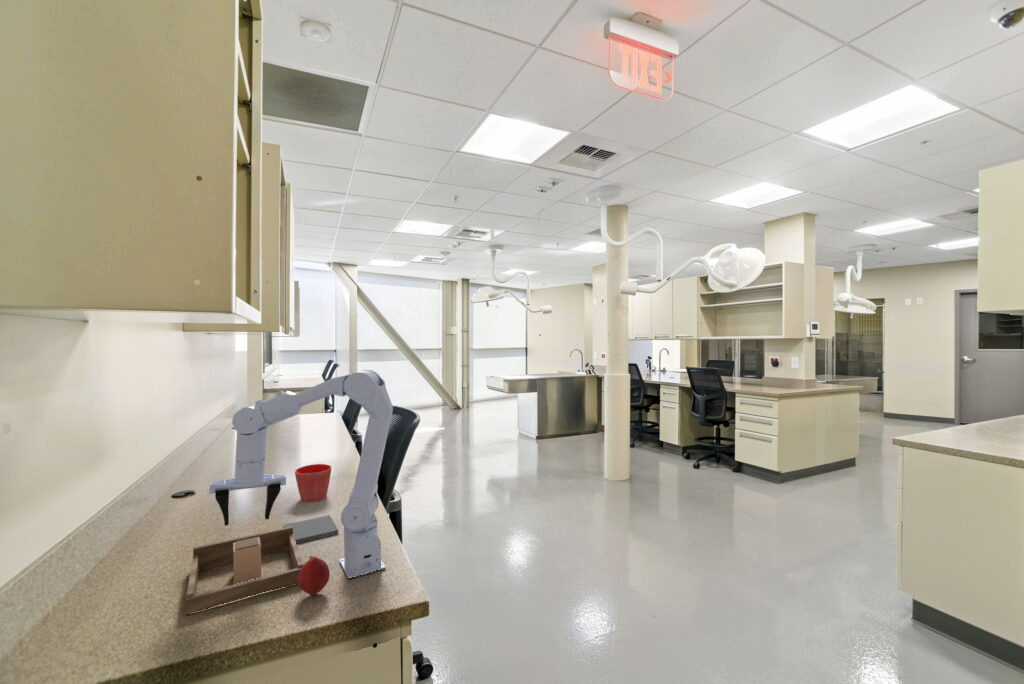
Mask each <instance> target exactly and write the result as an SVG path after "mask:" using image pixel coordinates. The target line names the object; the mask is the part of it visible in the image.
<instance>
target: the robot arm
mask: <svg viewBox="0 0 1024 684" xmlns="http://www.w3.org/2000/svg"><path fill="white" fill-rule="evenodd" d="M333 395H334V396H338V397H342V398H343V397H346V396H347V397H348V398H349V399H350V400H352V401H353V402H355V403H357V404H358V405H360V406H361V407H362V408H363V409H364V411H365V413H367V414H368V417H369V418H368V420H367V424H366V425H367V426H366V429H365V435H364V439H363V444H362V447H361V448H362V449H361V454H360V457H359V462H358V466H357V471H356V476H355V482H354V485H353V488H352V490H351V493H350V494H349V498H348V502H347V504H346V505H345V507H343V509H342V512H341V514H340V522H341V524H342V525H343V547H344V548H343V549H344V552H343V553H344V555H343V556H344V557H343V558H339V563H340V566H341V567H342V568H343V571H344V573H345V572H346V573H345V575H346V574H347V575H346V577H347V576H348V577H354V576H358V575H361V574H365V573H367V572H371V571H374V570H378V569H382V568H385V567H386V565H385V564H384V562H383V560H382V543H381V539H380V537H379V536H378V519H377V516H376V514H375V512H376V511H377V510H378V507H379V501H380V500H379V498H378V488H379V484H378V481H379V476H380V473H381V472H380V471H381V467H382V462H383V458H384V453H385V448H386V443H387V439H388V434H389V430H390V426H391V421H392V416H393V411H394V407H393V404H392V401H391V398H390V396H389V393H388V390H387V387H386V382H385V380H384V379H383V378H382V377H381V376H380V374H379V373H377V372H376V371H374V370H372V369H363V370H361V371H356V372H352V373H349V374H344V375H340V376H335V377H332V378H330V379H327V380H325V381H323V382H321V383H318V384H316V385H313V386H311V387H309V388H306V389H304V390H303V391H299V392H298V393H295V392H293V391H290V390H286V391H284V390H279V391H277V392H276V393H275V395H274V396H272V397H270V398H267V399H264V400H263V399H260V400H257V401H255V402H254V403H255V404H254V405H250V406H244V407H242V408H241V409H239V410H238V411H236V412H235V414H233V415H232V420H231V422H232V426H233V428H234V430H235V431H236V443H235V444H236V445H235V462H234V478H229V479H223V480H217V481H211V482H209V489H208V490H209V491H208V494H209V495H211V494H215V496H214V498H215V501H216V502H217V504H218V506H219V508H220V511H221V514H222V517H223V520H224V521H223V522H224V526H227V527H228V526H229V521H230V514H229V512H230V511H229V503H230V501H229V499H230V492H231V491H239V490H246V489H254V488H262V487H266V503H265V510H264V519H265V520H269V519H270V516H271V511H272V509H273V506H274V503H275V501H276V499H277V498H278V496H279V494H280V492H281V489H282V488H281V487H282V486H286V485H287V475H286V474H265V467H266V453H267V452H266V449H267V429H268V427H269V426H272V425H276V424H277V423H280V422H283V421H285V420H287V419H290V418H293V417H295V416H298V415H299V414H300V412H301V410H302V408H303V406H306V405H309V404H312V403H314V402H317V401H319V400H322V399H325V398H329V396H333ZM385 569H386V568H385ZM382 570H383V569H382ZM365 575H366V574H365ZM348 577H347V578H348ZM358 577H359V576H358Z"/></svg>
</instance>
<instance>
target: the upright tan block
mask: <svg viewBox="0 0 1024 684" xmlns="http://www.w3.org/2000/svg"><path fill="white" fill-rule="evenodd" d="M232 563H233V564H232V565H233V585H234V584H237V583H241V582H245V581H248V580H251V579H256V578H259V577H262V555H261V544H260V537H254V538H250V539H245V540H241V541H236V542H235V543H233V562H232Z"/></svg>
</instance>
